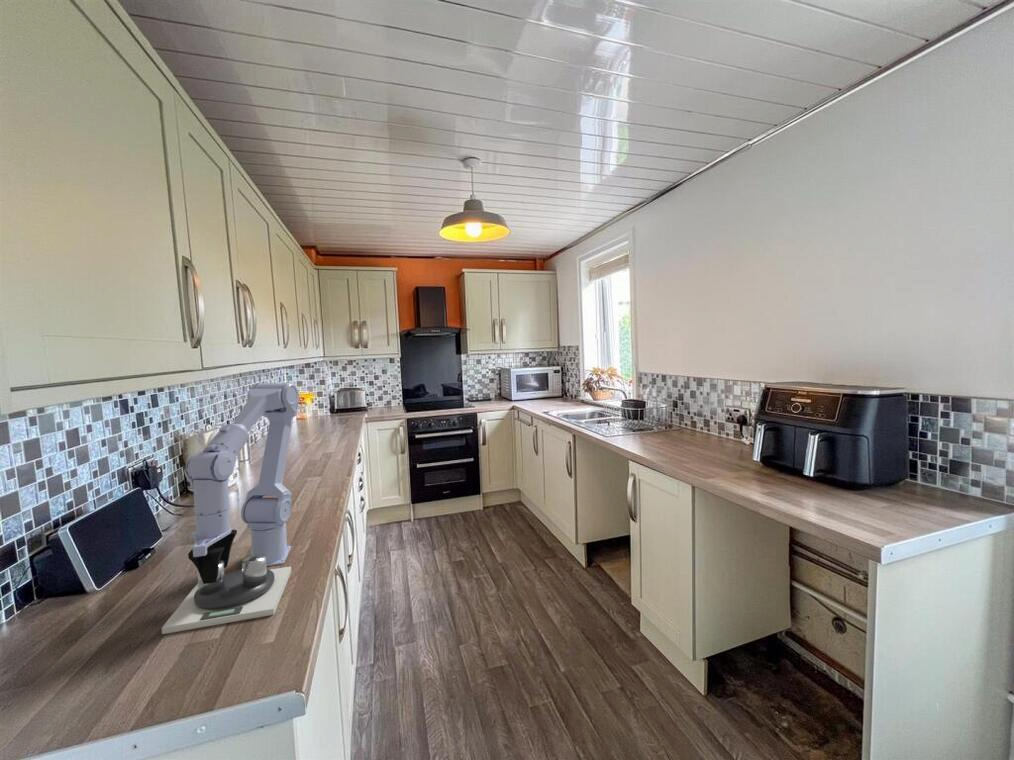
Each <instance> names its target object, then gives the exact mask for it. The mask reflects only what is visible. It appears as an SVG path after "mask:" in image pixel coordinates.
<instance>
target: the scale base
mask: <svg viewBox="0 0 1014 760" xmlns="http://www.w3.org/2000/svg"><path fill="white" fill-rule="evenodd" d="M269 570H271V571H272V572H273V573H274V578H275V579H274V583H273V585H272V586H271V587H270V588H269V589H268V590H267V591H266V592H264V593H263V594H261V595H260V596H258V597H256V598H254V599H252V600H250V601H247V602H245V603H242V604H239V605H235V606H231V607H227V608H220V609H204V608H200V607H198V606H196V604H195V603H194V595H195V593H196V591H197V590H198V589H199V588H198V582H197V584H196V585H194V587H193V588H192V589H191V591H190V592H189V593H188V595H187V596H186V597H184V599H183V601H182V602H181V603H180V605H179V606H178V607H177V608H176V609H175V611H174V612H173V613H172V614H171V616H170V617H169V618H168V619H167V621H166V622H164V624H163V626H162V627H161V634H162V635H165V634H172V633H177V632H184V631H188V630H189V631H190V630H194V629H199V628H205V627H206V628H207V627H210V626H211V627H212V626H217V625H223V624H228V623H234V622H240V621H246V620H251V619H257V618H263V617H268V616H274V615H275V613H276V610H277V608H278V606H279V603H280V600H281V598H282V596H283V594H284V591H285V589H286V585H287V584H288V580H289V578H290V576H291V573H292V566H285V567H278V568H271V569H269Z"/></svg>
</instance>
